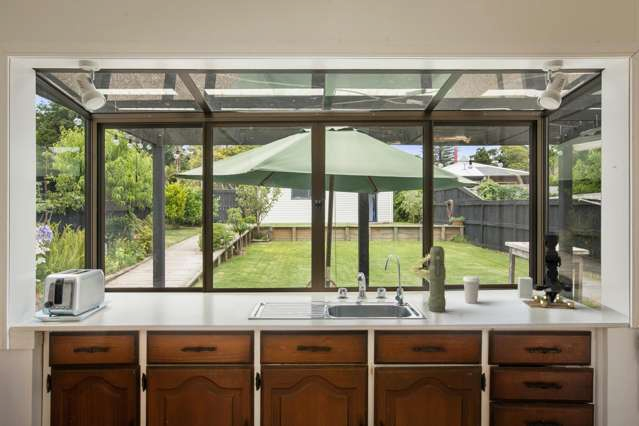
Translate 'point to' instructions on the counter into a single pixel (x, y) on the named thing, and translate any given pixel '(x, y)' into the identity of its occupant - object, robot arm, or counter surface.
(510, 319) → the counter surface
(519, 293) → the supplement box
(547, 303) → the steel nut
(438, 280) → the green bumpy column
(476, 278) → the coffee cup
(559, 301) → the brass spacers
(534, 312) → the counter surface
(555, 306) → the walnut board
